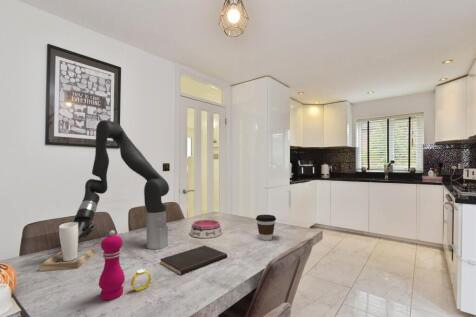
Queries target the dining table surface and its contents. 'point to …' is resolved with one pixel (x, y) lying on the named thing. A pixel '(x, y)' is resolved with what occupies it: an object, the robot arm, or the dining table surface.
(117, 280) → the pepper mill
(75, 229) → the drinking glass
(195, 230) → the dog bowl
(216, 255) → the hardcover book
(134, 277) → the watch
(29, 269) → the dining table surface
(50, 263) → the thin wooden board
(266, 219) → the coffee cup
